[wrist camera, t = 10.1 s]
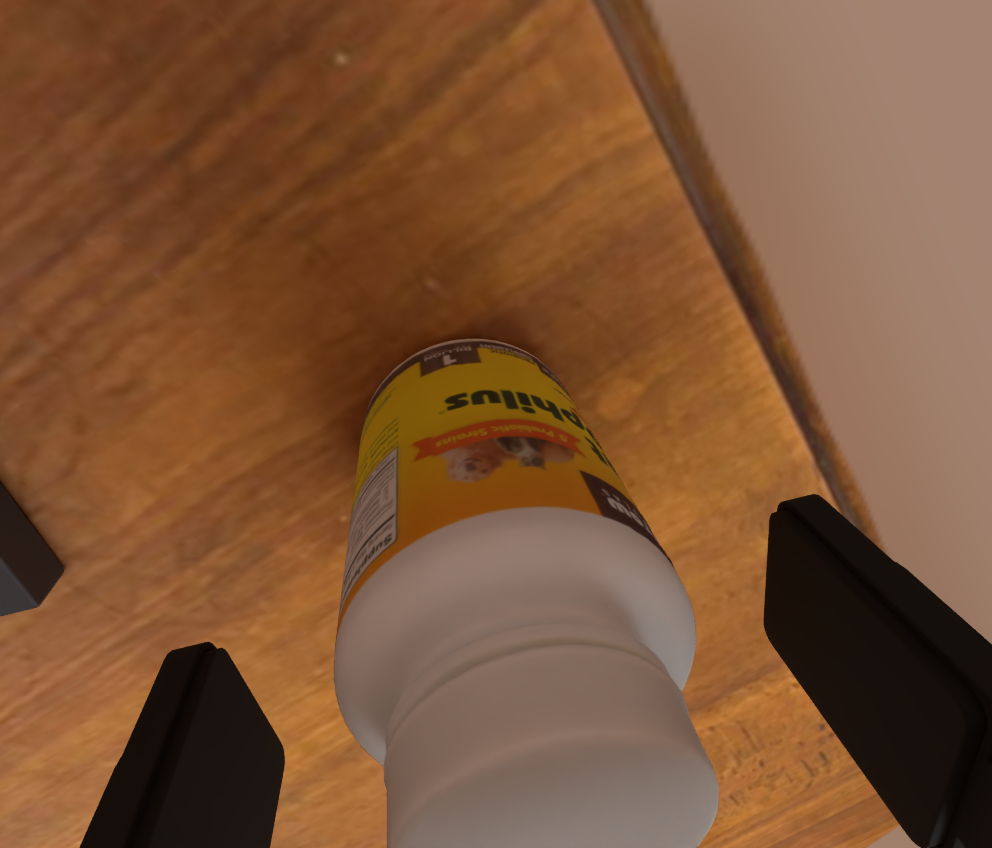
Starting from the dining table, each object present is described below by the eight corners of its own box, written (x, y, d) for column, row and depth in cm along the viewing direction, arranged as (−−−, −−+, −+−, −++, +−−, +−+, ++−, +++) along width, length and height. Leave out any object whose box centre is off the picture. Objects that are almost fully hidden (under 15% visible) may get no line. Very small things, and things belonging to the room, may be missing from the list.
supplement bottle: (607, 385, 16) (886, 747, 7) (502, 535, 18) (612, 972, 9) (421, 288, 14) (467, 619, 5) (326, 469, 16) (233, 948, 7)
